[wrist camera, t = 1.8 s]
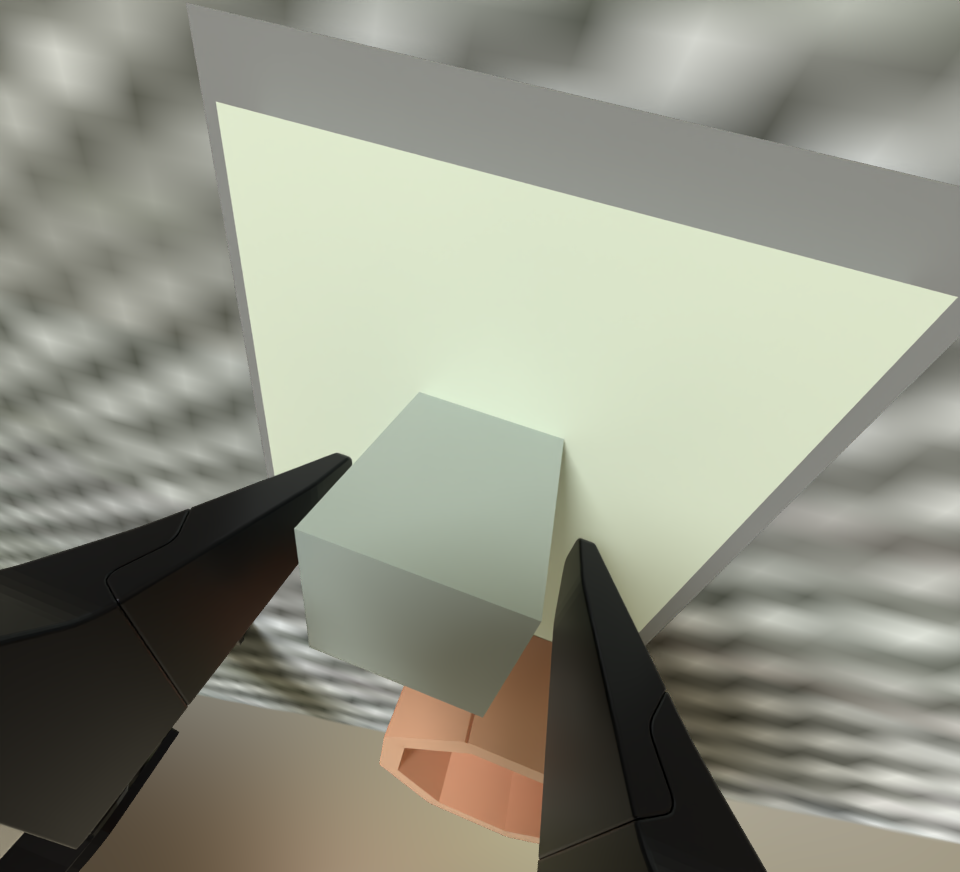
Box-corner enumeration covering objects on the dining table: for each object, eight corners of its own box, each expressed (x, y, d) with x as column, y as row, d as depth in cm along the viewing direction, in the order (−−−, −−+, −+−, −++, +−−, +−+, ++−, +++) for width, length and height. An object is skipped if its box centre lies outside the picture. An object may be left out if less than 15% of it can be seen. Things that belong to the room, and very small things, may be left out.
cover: (303, 519, 16) (173, 662, 11) (260, 113, 8) (-258, -25, 3) (608, 633, 15) (616, 851, 10) (907, 283, 7) (1706, 494, 2)
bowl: (411, 684, 25) (376, 780, 21) (434, 597, 18) (389, 710, 14) (568, 748, 24) (563, 861, 20) (649, 679, 17) (666, 825, 13)
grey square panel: (288, 518, 18) (276, 529, 17) (218, 18, 8) (186, 2, 8) (626, 644, 16) (628, 662, 16) (1034, 214, 7) (1082, 215, 6)
